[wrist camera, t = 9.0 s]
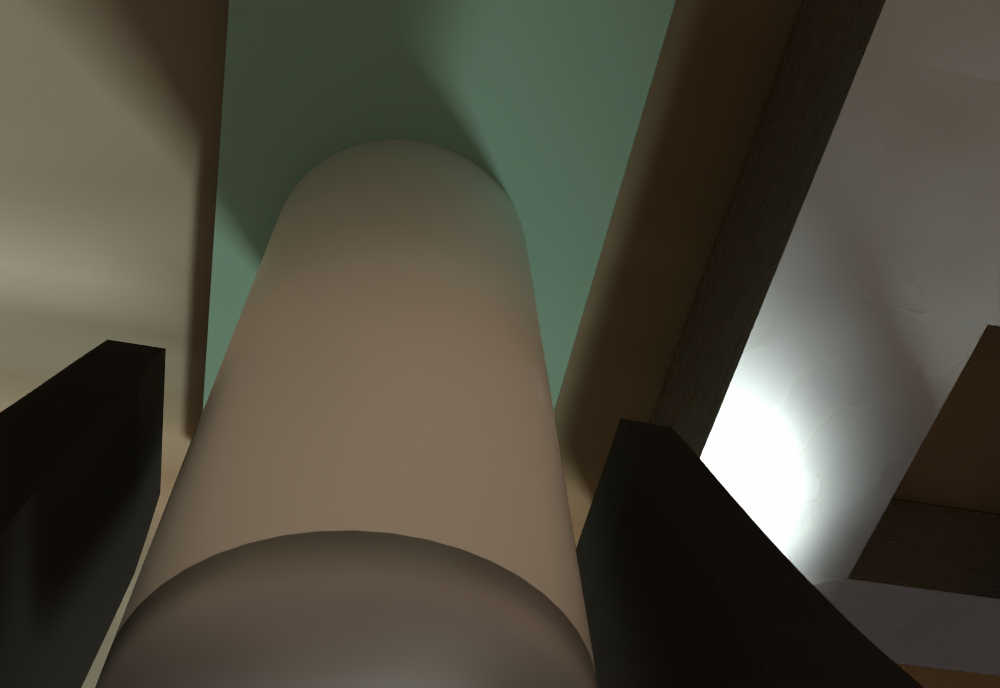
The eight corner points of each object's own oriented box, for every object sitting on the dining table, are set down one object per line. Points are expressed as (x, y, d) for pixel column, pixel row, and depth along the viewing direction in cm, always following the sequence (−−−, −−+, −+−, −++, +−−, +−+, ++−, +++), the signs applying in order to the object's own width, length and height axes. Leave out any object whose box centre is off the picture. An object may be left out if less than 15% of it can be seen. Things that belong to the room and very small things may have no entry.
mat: (518, 502, 18) (520, 523, 18) (205, 459, 17) (198, 479, 17) (673, -28, 13) (681, -20, 13) (245, -125, 12) (236, -121, 12)
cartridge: (498, 382, 16) (542, 935, 8) (263, 347, 16) (81, 904, 8) (552, 165, 14) (675, 629, 6) (285, 116, 14) (69, 558, 6)
